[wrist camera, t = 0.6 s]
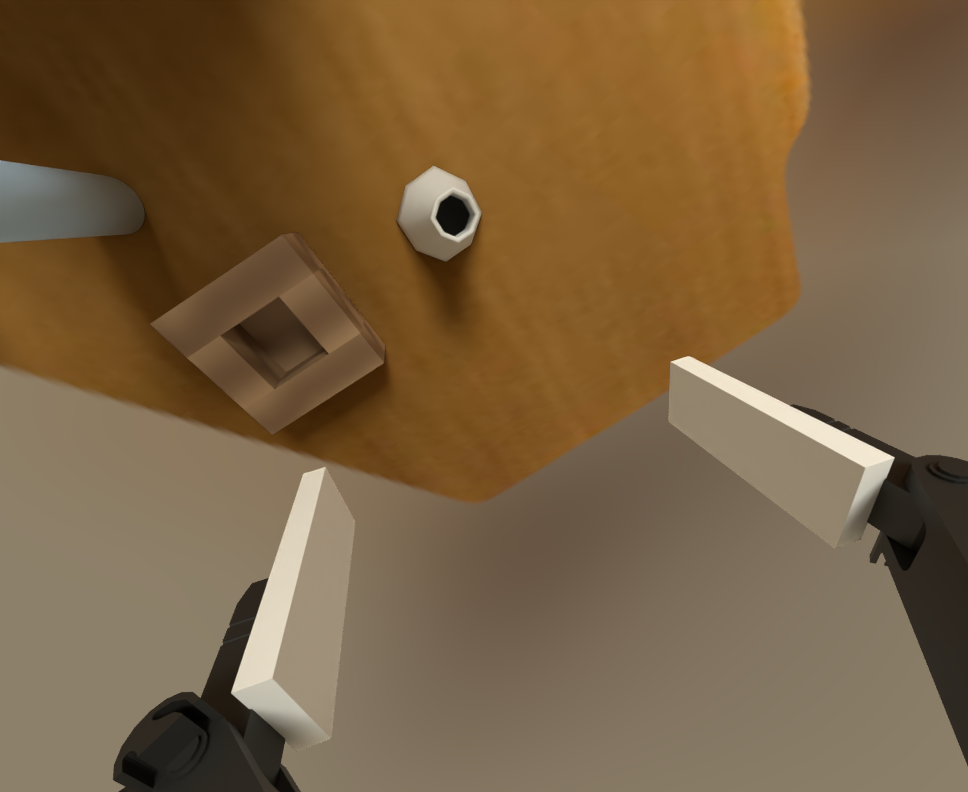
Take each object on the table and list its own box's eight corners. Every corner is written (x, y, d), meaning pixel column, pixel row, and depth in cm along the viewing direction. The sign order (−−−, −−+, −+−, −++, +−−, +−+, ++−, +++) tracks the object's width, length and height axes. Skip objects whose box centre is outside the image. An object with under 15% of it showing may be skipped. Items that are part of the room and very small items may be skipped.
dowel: (64, 194, 27) (-207, 176, 15) (107, 163, 27) (-131, 119, 15) (116, 244, 29) (-87, 265, 17) (157, 216, 29) (-18, 216, 17)
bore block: (183, 309, 32) (149, 324, 28) (297, 232, 31) (281, 234, 27) (286, 409, 38) (272, 434, 33) (385, 345, 37) (383, 362, 33)
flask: (447, 275, 36) (464, 294, 27) (381, 222, 32) (376, 223, 24) (495, 211, 34) (530, 208, 25) (431, 148, 31) (445, 120, 22)
